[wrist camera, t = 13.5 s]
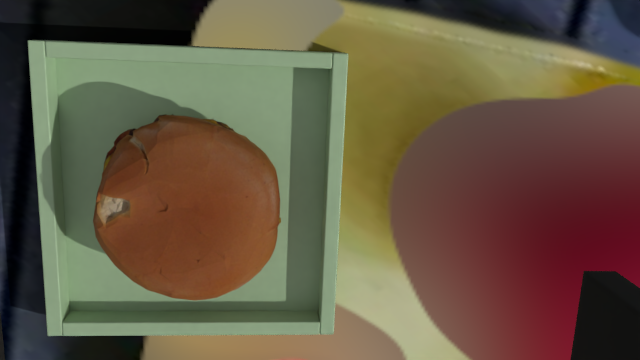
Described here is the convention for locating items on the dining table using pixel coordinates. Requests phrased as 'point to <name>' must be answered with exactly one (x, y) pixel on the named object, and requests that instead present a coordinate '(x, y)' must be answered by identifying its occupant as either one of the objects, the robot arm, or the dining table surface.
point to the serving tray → (205, 103)
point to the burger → (187, 207)
